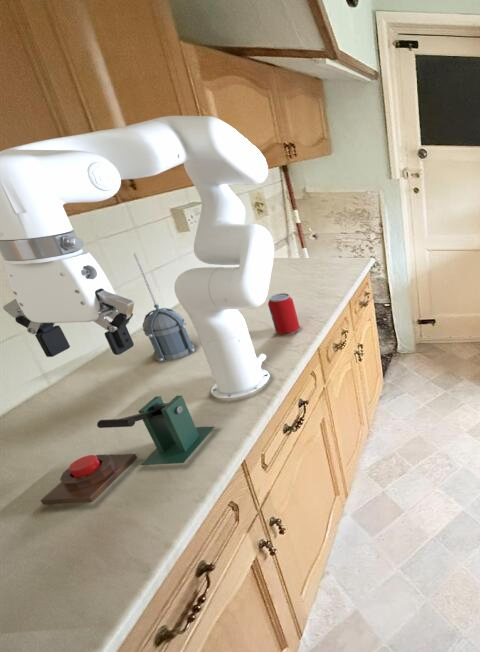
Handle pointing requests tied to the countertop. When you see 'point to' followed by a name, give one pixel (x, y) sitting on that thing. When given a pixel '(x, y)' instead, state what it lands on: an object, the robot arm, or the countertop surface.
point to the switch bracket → (172, 432)
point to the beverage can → (283, 313)
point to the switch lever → (133, 418)
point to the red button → (84, 466)
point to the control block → (89, 481)
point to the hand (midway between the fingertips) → (92, 351)
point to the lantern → (166, 332)
